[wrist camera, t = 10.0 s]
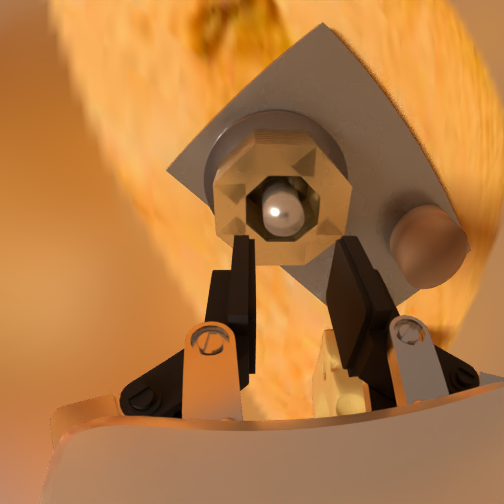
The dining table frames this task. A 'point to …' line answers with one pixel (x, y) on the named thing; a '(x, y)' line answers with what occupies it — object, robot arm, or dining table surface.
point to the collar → (281, 164)
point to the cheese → (334, 383)
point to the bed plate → (350, 142)
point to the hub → (273, 187)
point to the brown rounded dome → (428, 246)
